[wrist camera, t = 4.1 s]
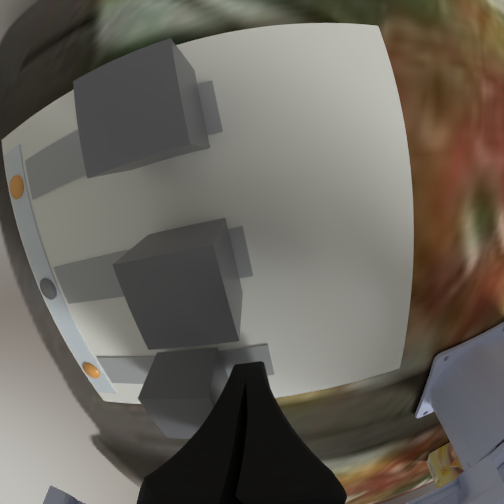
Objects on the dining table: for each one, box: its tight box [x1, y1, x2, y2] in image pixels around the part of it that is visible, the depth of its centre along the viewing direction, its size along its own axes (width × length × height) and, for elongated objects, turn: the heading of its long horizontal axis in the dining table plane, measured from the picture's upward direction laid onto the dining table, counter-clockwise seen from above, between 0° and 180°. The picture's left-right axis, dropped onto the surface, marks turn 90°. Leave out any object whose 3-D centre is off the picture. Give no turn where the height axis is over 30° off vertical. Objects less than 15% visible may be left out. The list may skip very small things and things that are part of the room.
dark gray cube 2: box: [113, 218, 243, 350], centre depth 9 cm, size 3×3×3 cm
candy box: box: [427, 442, 464, 489], centre depth 15 cm, size 9×4×15 cm, turn 113°
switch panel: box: [2, 23, 414, 404], centre depth 11 cm, size 18×17×2 cm
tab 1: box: [138, 347, 228, 439], centre depth 11 cm, size 3×3×3 cm
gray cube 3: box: [73, 38, 210, 179], centre depth 7 cm, size 3×3×3 cm
